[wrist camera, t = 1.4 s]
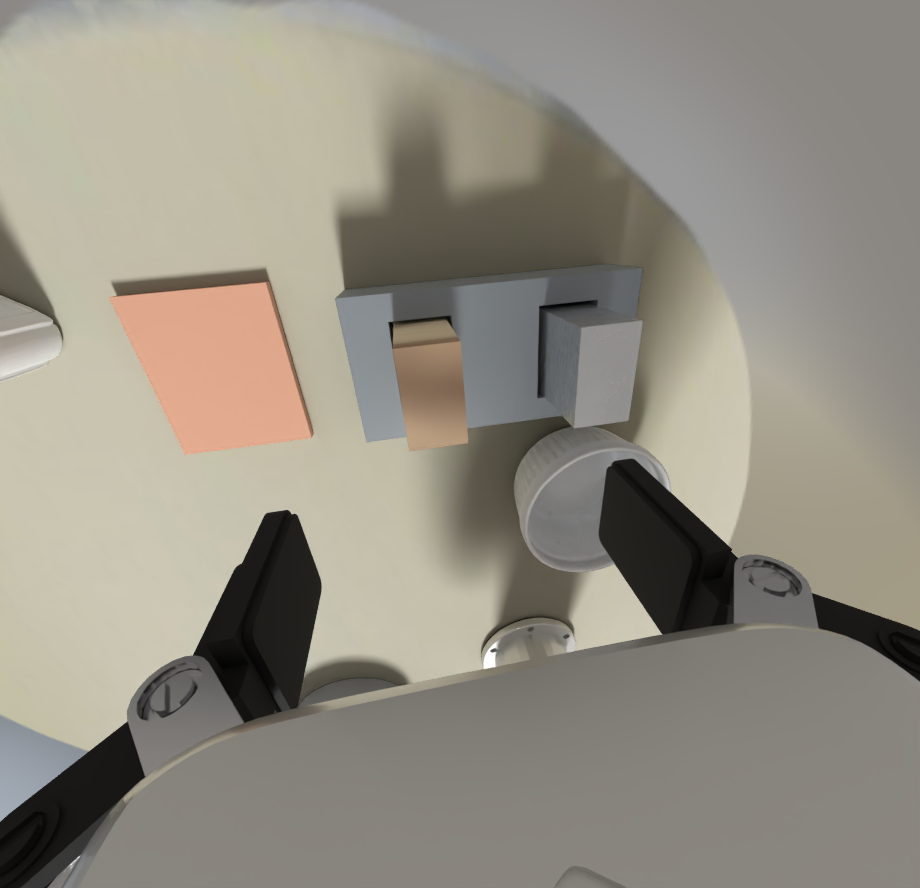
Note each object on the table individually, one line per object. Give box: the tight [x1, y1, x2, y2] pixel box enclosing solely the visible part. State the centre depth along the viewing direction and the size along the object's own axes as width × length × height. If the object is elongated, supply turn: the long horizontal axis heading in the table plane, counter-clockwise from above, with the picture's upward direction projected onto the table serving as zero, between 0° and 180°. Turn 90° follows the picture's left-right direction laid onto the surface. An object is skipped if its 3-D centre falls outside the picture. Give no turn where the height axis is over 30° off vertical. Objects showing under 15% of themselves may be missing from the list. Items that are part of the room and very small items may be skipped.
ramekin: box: [514, 426, 671, 572], centre depth 36 cm, size 13×13×7 cm
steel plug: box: [537, 301, 643, 428], centre depth 27 cm, size 6×4×11 cm, turn 5°
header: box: [335, 264, 643, 442], centre depth 29 cm, size 10×20×5 cm, turn 94°
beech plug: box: [393, 316, 468, 451], centre depth 26 cm, size 6×4×11 cm, turn 4°
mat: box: [109, 282, 313, 455], centre depth 29 cm, size 12×10×1 cm
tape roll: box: [298, 678, 398, 708], centre depth 50 cm, size 15×15×5 cm
